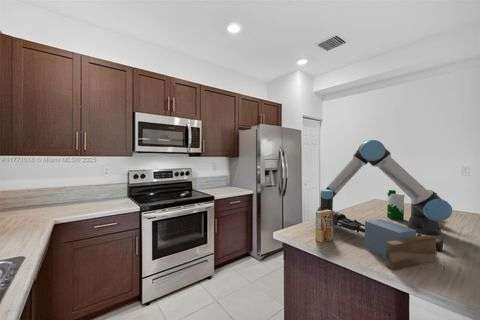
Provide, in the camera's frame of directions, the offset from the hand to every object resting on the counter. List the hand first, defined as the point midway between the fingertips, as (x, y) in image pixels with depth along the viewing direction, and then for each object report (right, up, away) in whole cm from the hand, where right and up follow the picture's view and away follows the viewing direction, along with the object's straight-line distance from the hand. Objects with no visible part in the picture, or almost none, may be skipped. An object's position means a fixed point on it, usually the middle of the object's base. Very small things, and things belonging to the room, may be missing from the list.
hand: (371, 233), depth 103 cm
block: (+3, -7, -8) cm, 10 cm away
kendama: (+24, -7, -4) cm, 25 cm away
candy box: (-20, -7, +8) cm, 23 cm away
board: (+6, -7, -17) cm, 19 cm away
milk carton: (+45, -6, +44) cm, 63 cm away
